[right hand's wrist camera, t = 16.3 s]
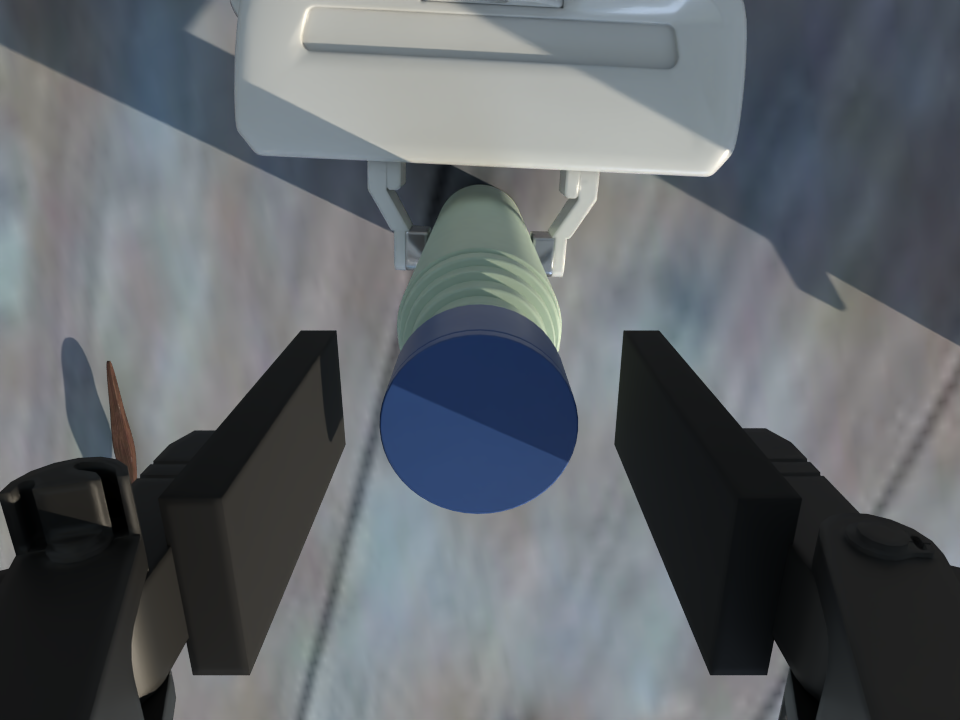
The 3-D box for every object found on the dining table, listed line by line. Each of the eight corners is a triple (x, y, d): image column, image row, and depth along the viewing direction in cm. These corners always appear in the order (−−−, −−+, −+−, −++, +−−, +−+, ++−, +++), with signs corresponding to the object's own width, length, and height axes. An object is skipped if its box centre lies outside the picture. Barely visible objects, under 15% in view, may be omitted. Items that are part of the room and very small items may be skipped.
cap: (357, 384, 14) (338, 427, 12) (480, 266, 13) (481, 292, 11) (477, 491, 15) (477, 547, 13) (600, 388, 14) (619, 431, 12)
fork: (136, 358, 38) (118, 370, 36) (171, 582, 43) (157, 602, 42) (91, 357, 38) (70, 369, 36) (132, 580, 43) (116, 601, 42)
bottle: (490, 166, 34) (509, 255, 12) (538, 238, 36) (639, 443, 13) (420, 217, 35) (313, 391, 13) (469, 285, 37) (453, 553, 14)
